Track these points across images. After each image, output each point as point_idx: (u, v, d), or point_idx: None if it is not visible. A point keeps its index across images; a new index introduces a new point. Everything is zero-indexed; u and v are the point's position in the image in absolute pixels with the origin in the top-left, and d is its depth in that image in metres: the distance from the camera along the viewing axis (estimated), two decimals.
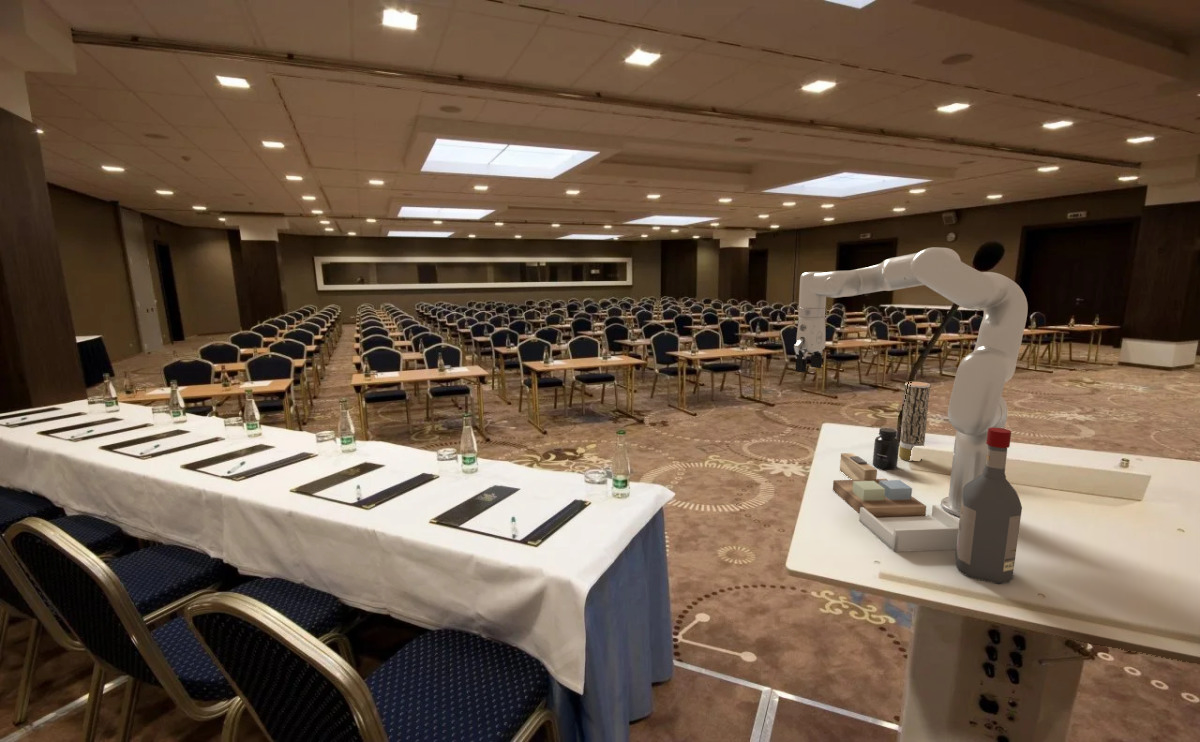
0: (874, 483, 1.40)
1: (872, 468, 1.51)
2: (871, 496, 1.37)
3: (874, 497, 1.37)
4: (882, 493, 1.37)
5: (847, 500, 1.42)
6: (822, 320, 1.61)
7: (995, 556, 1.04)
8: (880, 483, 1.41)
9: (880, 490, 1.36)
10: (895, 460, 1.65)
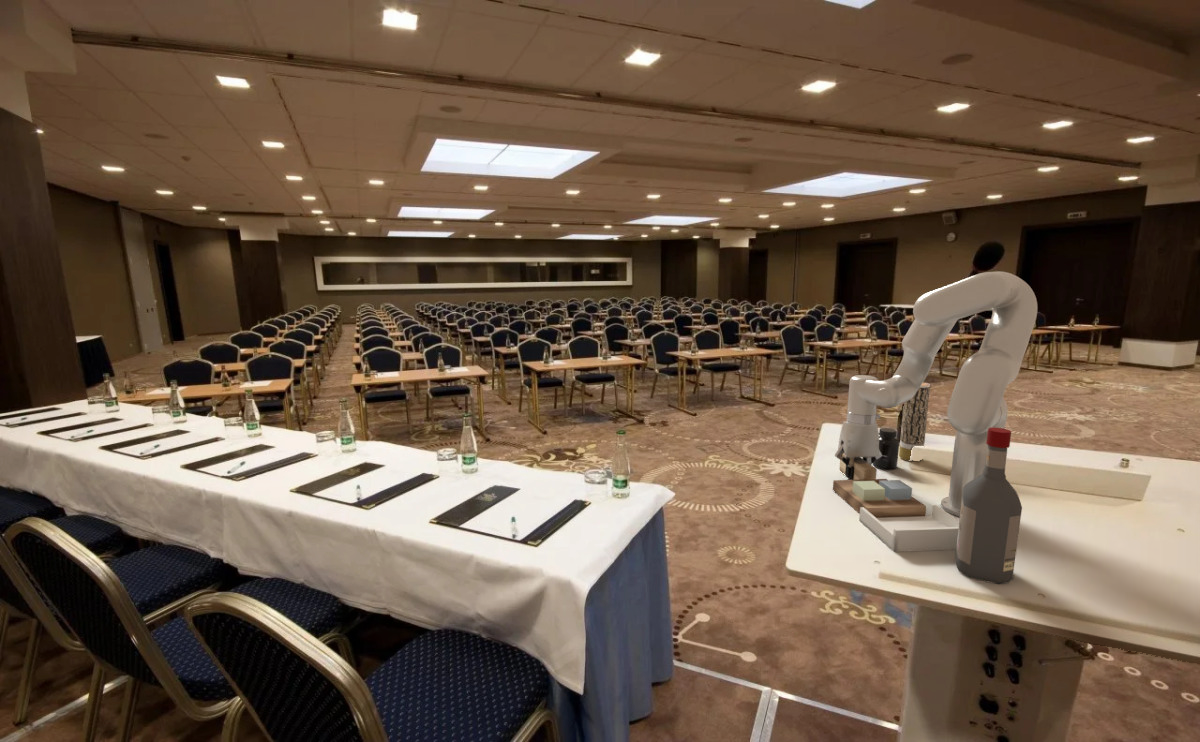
0: (874, 483, 1.40)
1: (872, 467, 1.51)
2: (871, 496, 1.37)
3: (874, 497, 1.37)
4: (882, 493, 1.37)
5: (847, 500, 1.42)
6: None
7: (995, 556, 1.04)
8: (880, 483, 1.41)
9: (880, 490, 1.36)
10: (895, 460, 1.65)
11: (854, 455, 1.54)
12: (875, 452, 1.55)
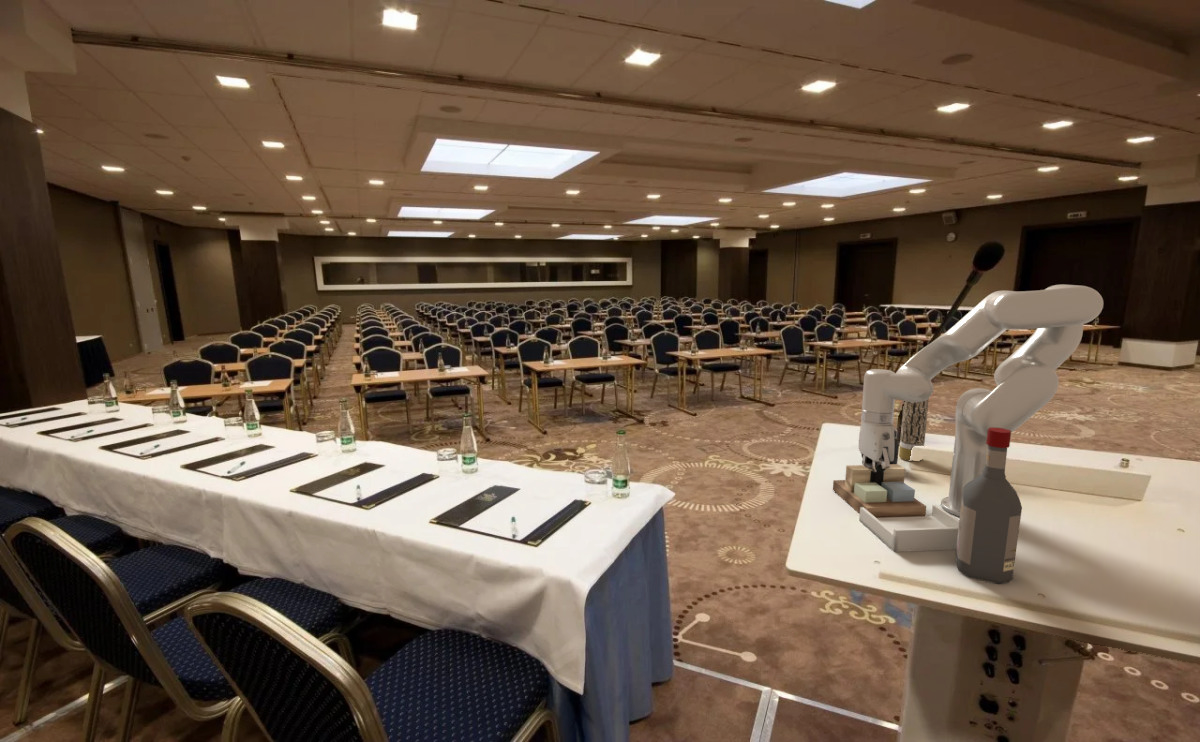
0: (876, 485, 1.39)
1: (854, 468, 1.42)
2: (873, 498, 1.36)
3: (876, 498, 1.36)
4: (884, 495, 1.36)
5: (847, 500, 1.42)
6: None
7: (995, 556, 1.04)
8: (882, 485, 1.40)
9: (882, 492, 1.35)
10: (895, 460, 1.65)
11: (862, 452, 1.45)
12: (874, 457, 1.39)
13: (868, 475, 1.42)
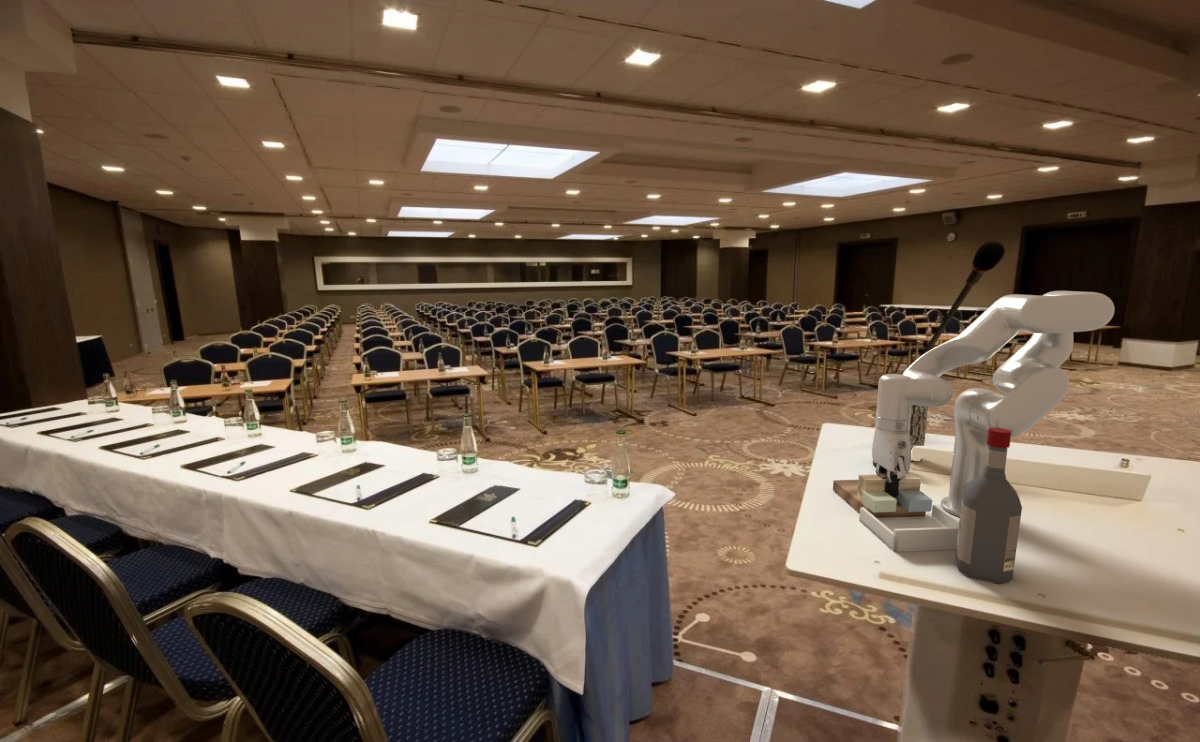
0: (885, 493, 1.33)
1: (867, 478, 1.35)
2: (882, 507, 1.30)
3: (885, 508, 1.30)
4: (893, 504, 1.30)
5: (847, 500, 1.42)
6: None
7: (995, 556, 1.04)
8: (898, 493, 1.35)
9: (892, 501, 1.30)
10: None
11: (876, 460, 1.38)
12: (889, 466, 1.32)
13: (882, 485, 1.35)
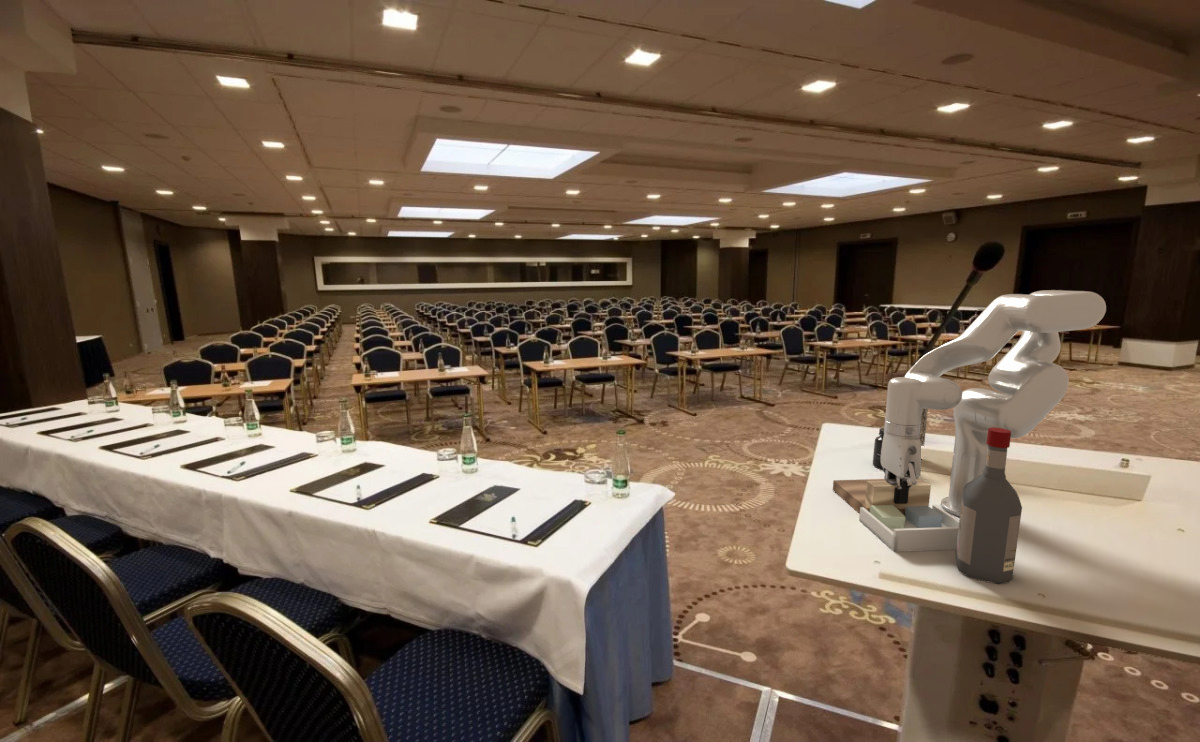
0: (893, 508, 1.30)
1: (876, 485, 1.31)
2: (890, 524, 1.27)
3: (893, 525, 1.27)
4: (902, 521, 1.27)
5: (847, 500, 1.42)
6: None
7: (995, 556, 1.04)
8: (907, 509, 1.31)
9: (900, 518, 1.26)
10: None
11: (885, 466, 1.34)
12: (899, 472, 1.28)
13: (891, 492, 1.31)
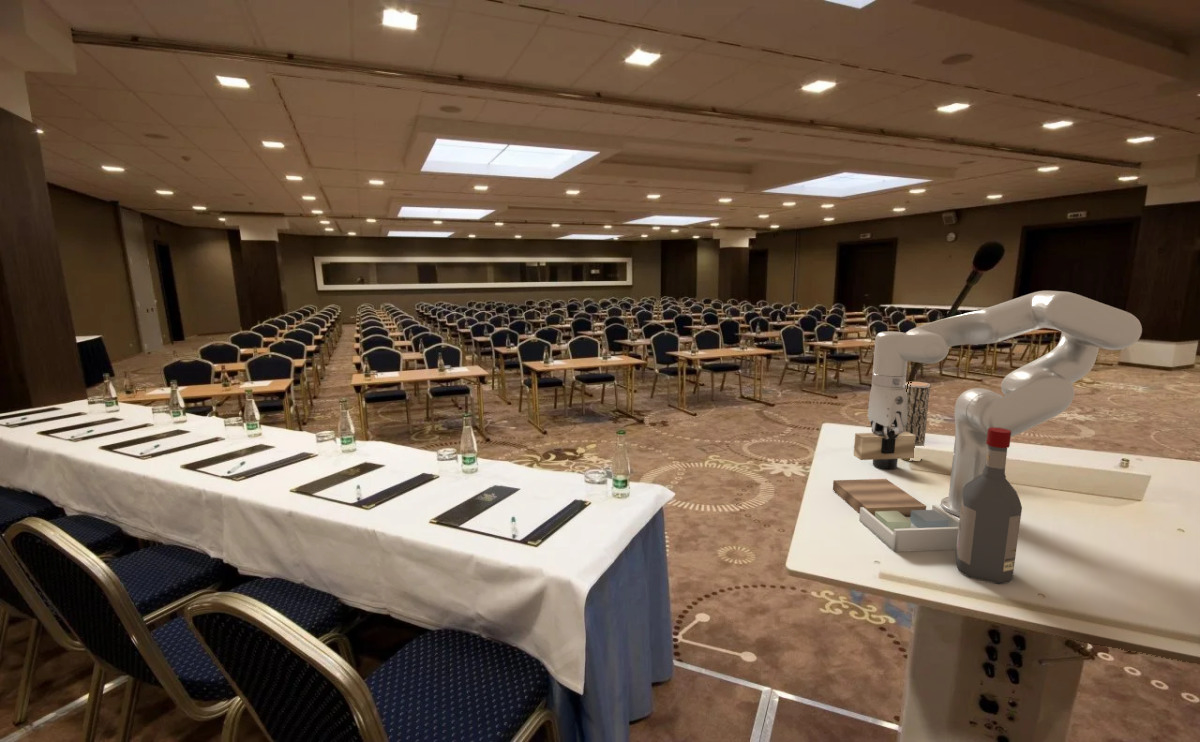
0: (898, 514, 1.28)
1: (864, 436, 1.36)
2: None
3: None
4: (908, 526, 1.24)
5: (847, 500, 1.42)
6: None
7: (995, 556, 1.04)
8: (912, 513, 1.29)
9: (906, 522, 1.24)
10: (895, 460, 1.65)
11: (872, 418, 1.39)
12: (886, 422, 1.33)
13: (878, 442, 1.36)
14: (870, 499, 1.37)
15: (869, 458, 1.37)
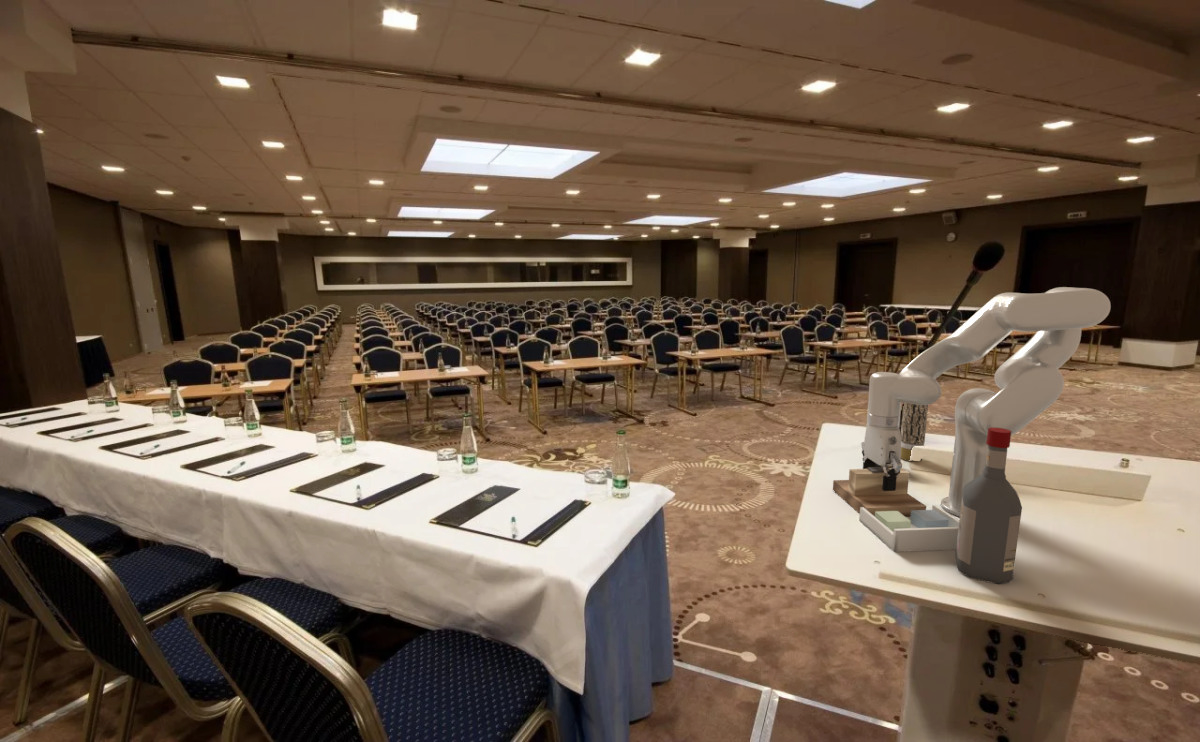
0: (898, 514, 1.28)
1: (858, 472, 1.40)
2: None
3: None
4: (908, 526, 1.24)
5: (847, 500, 1.42)
6: None
7: (995, 556, 1.04)
8: (912, 513, 1.29)
9: (906, 522, 1.24)
10: None
11: (867, 456, 1.42)
12: (880, 461, 1.36)
13: (872, 479, 1.39)
14: (870, 499, 1.37)
15: (863, 494, 1.40)
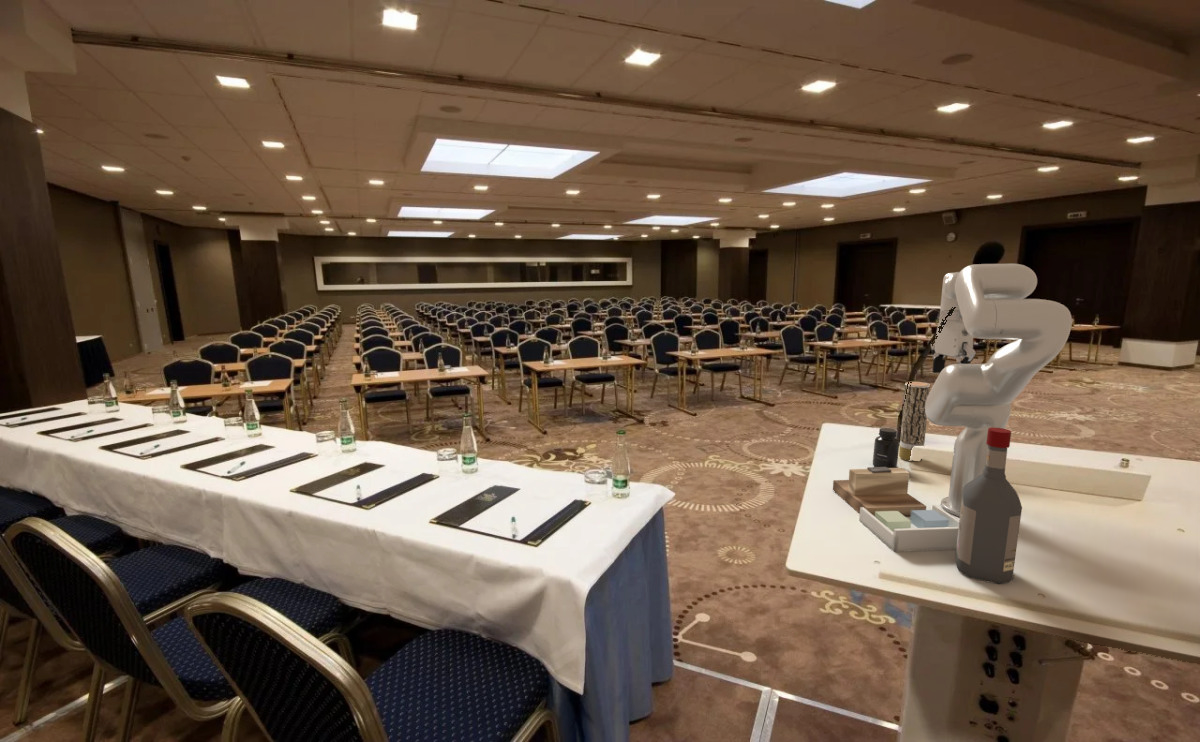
0: (898, 514, 1.28)
1: (858, 472, 1.40)
2: None
3: None
4: (908, 526, 1.24)
5: (847, 500, 1.42)
6: None
7: (995, 556, 1.04)
8: (912, 513, 1.29)
9: (906, 522, 1.24)
10: (895, 460, 1.65)
11: (939, 352, 1.56)
12: (953, 352, 1.50)
13: (872, 479, 1.39)
14: (870, 499, 1.37)
15: (863, 494, 1.40)
